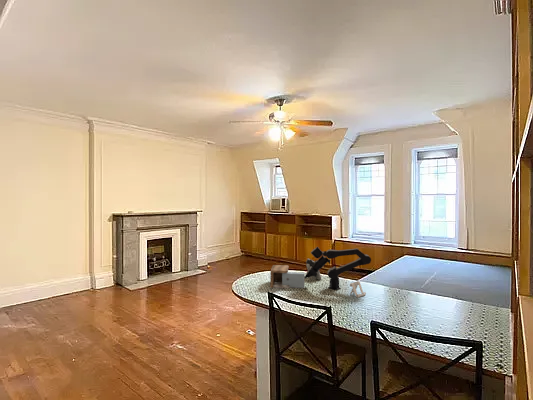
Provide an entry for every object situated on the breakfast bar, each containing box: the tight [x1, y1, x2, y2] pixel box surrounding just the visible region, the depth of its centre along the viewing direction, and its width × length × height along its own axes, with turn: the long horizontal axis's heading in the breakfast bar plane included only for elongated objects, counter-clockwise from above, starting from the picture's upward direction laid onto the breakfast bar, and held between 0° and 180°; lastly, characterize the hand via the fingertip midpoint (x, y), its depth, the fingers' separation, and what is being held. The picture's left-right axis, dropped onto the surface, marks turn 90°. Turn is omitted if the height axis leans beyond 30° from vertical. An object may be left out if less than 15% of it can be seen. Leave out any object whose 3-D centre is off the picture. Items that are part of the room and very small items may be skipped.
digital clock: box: [305, 263, 322, 281], centre depth 256 cm, size 16×9×11 cm, turn 12°
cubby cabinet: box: [269, 264, 290, 289], centre depth 237 cm, size 14×18×12 cm
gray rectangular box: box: [282, 271, 305, 289], centre depth 231 cm, size 16×5×10 cm, turn 83°
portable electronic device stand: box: [349, 280, 367, 298], centre depth 212 cm, size 9×8×8 cm
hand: (304, 277), depth 230 cm, fingers closed, pressing on gray rectangular box
